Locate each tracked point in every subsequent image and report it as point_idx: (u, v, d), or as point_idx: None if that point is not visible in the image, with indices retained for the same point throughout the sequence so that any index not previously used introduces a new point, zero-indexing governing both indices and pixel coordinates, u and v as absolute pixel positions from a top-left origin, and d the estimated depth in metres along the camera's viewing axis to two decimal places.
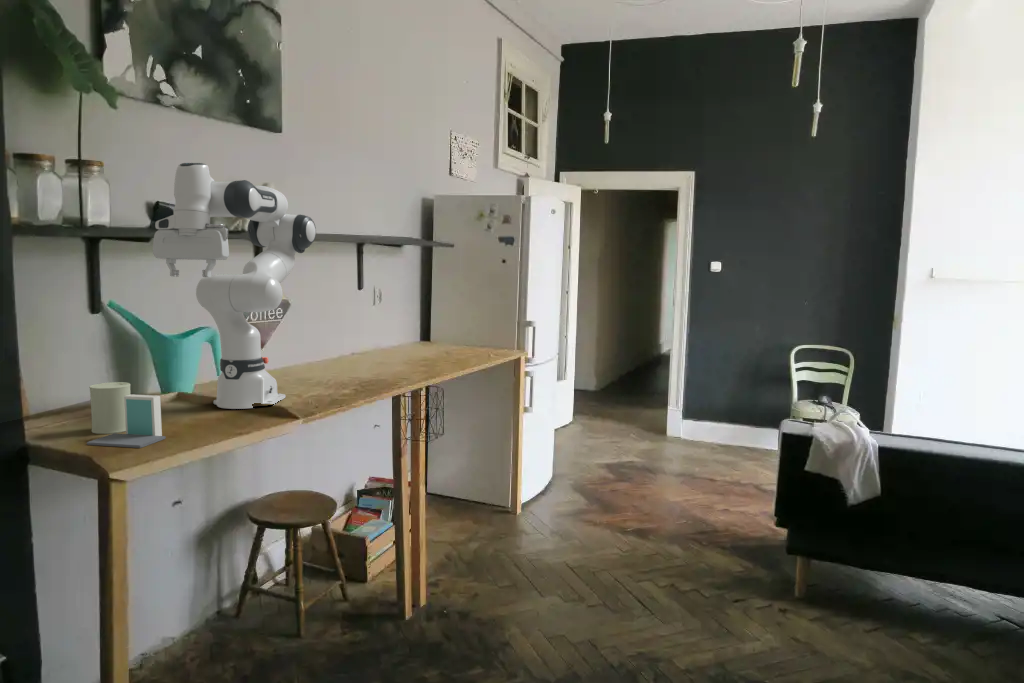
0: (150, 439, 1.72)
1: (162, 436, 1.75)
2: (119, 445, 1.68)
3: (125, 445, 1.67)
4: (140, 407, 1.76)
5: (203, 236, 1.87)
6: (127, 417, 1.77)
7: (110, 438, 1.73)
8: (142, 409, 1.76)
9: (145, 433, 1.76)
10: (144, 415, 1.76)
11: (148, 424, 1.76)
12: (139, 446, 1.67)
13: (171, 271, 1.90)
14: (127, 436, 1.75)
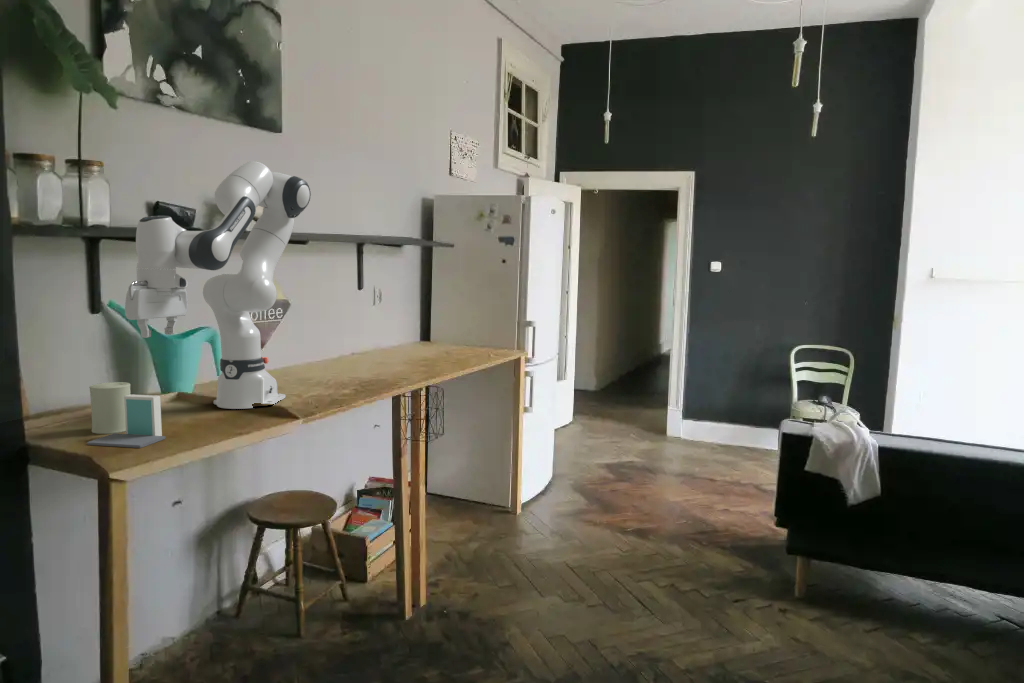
0: (150, 439, 1.72)
1: (162, 436, 1.75)
2: (119, 445, 1.68)
3: (125, 445, 1.67)
4: (140, 407, 1.76)
5: None
6: (127, 417, 1.77)
7: (110, 438, 1.73)
8: (142, 409, 1.76)
9: (145, 433, 1.76)
10: (144, 415, 1.76)
11: (148, 424, 1.76)
12: (139, 446, 1.67)
13: None
14: (127, 436, 1.75)
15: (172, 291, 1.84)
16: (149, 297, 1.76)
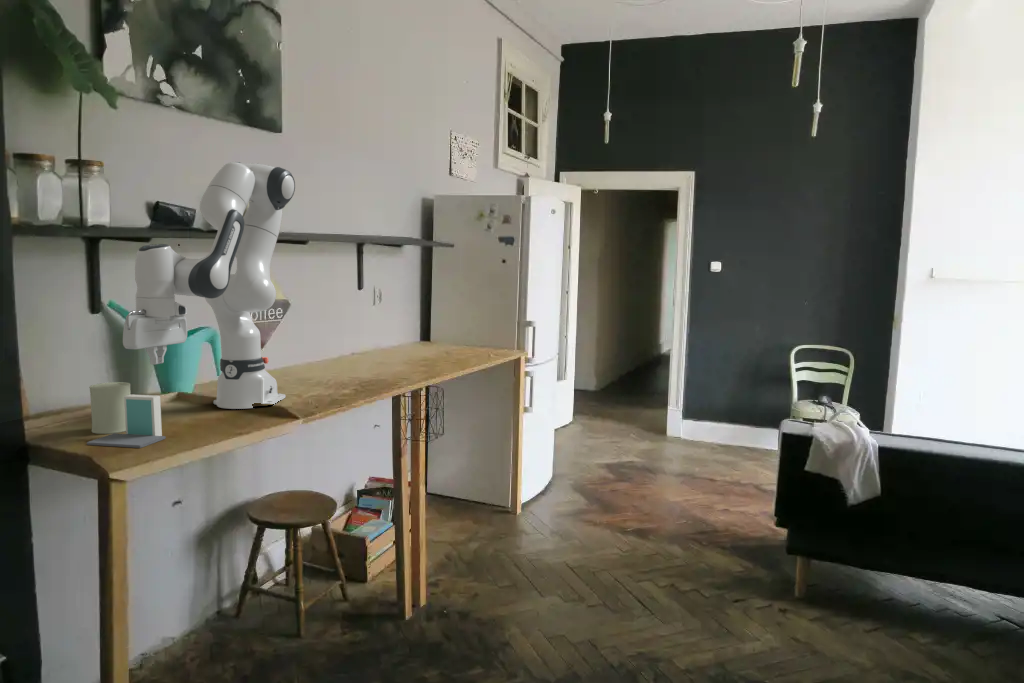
0: (150, 439, 1.72)
1: (162, 436, 1.75)
2: (119, 445, 1.68)
3: (125, 445, 1.67)
4: (139, 407, 1.76)
5: None
6: (127, 417, 1.77)
7: (110, 438, 1.73)
8: (142, 409, 1.76)
9: (145, 433, 1.76)
10: (144, 415, 1.76)
11: (148, 424, 1.76)
12: (139, 446, 1.67)
13: None
14: (127, 436, 1.75)
15: (171, 319, 1.84)
16: (147, 326, 1.76)
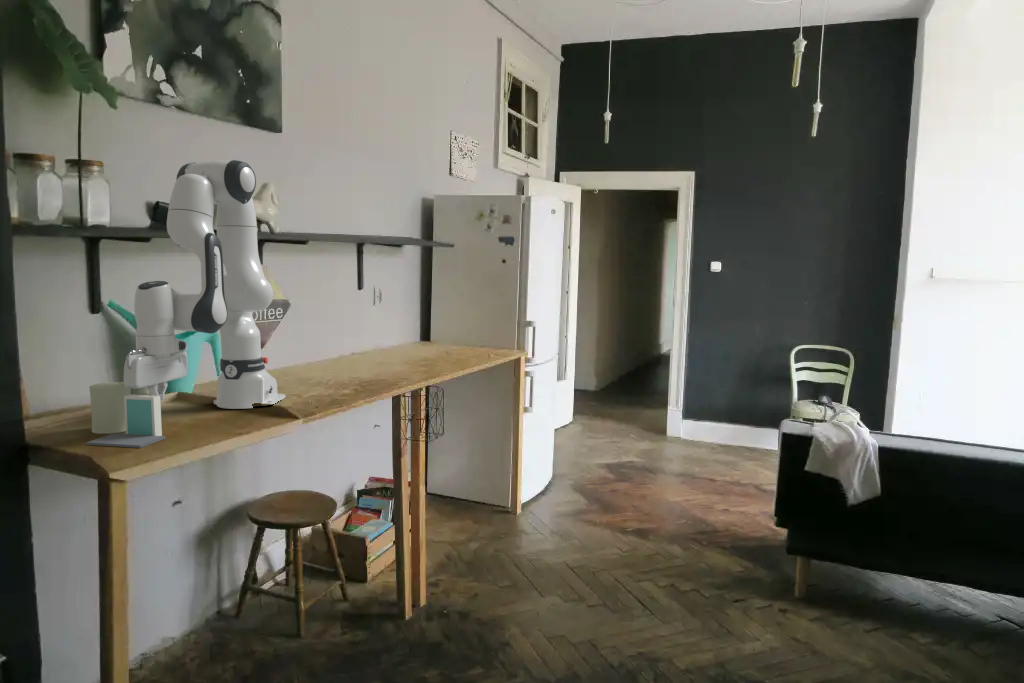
0: (150, 439, 1.72)
1: (162, 436, 1.75)
2: (119, 445, 1.68)
3: (125, 445, 1.67)
4: (140, 407, 1.76)
5: None
6: (127, 417, 1.77)
7: (110, 438, 1.73)
8: (142, 409, 1.76)
9: (145, 433, 1.76)
10: (144, 415, 1.76)
11: (148, 424, 1.76)
12: (139, 446, 1.67)
13: None
14: (127, 436, 1.75)
15: (171, 355, 1.85)
16: (147, 364, 1.77)
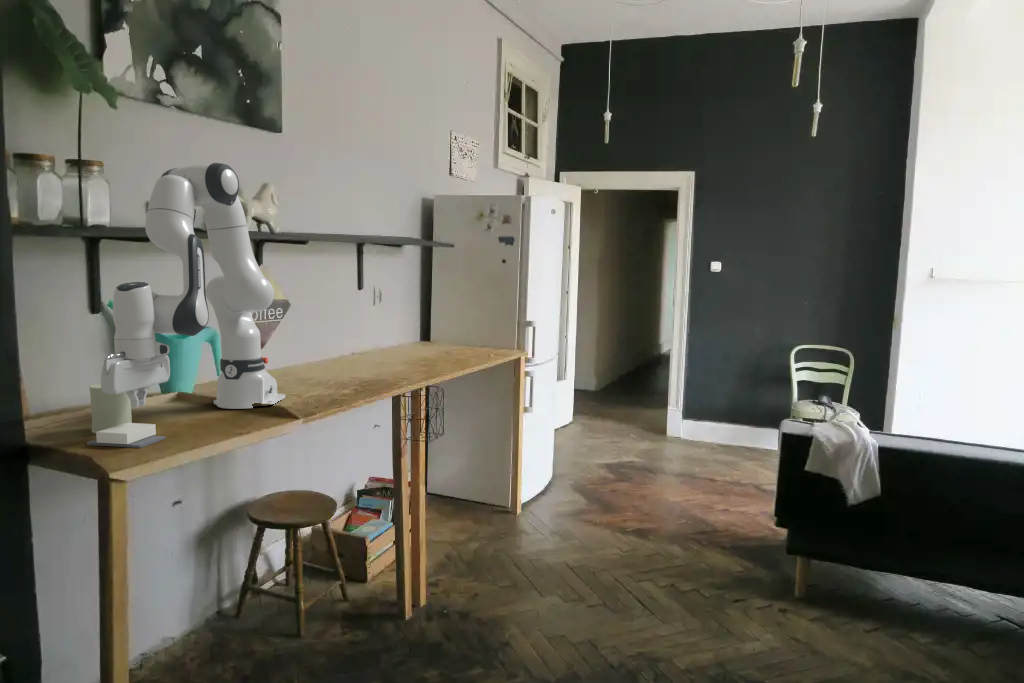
0: (150, 439, 1.72)
1: (162, 436, 1.75)
2: (119, 445, 1.68)
3: (125, 445, 1.67)
4: None
5: None
6: None
7: None
8: None
9: None
10: None
11: None
12: (139, 446, 1.67)
13: None
14: None
15: (152, 359, 1.77)
16: (126, 369, 1.70)
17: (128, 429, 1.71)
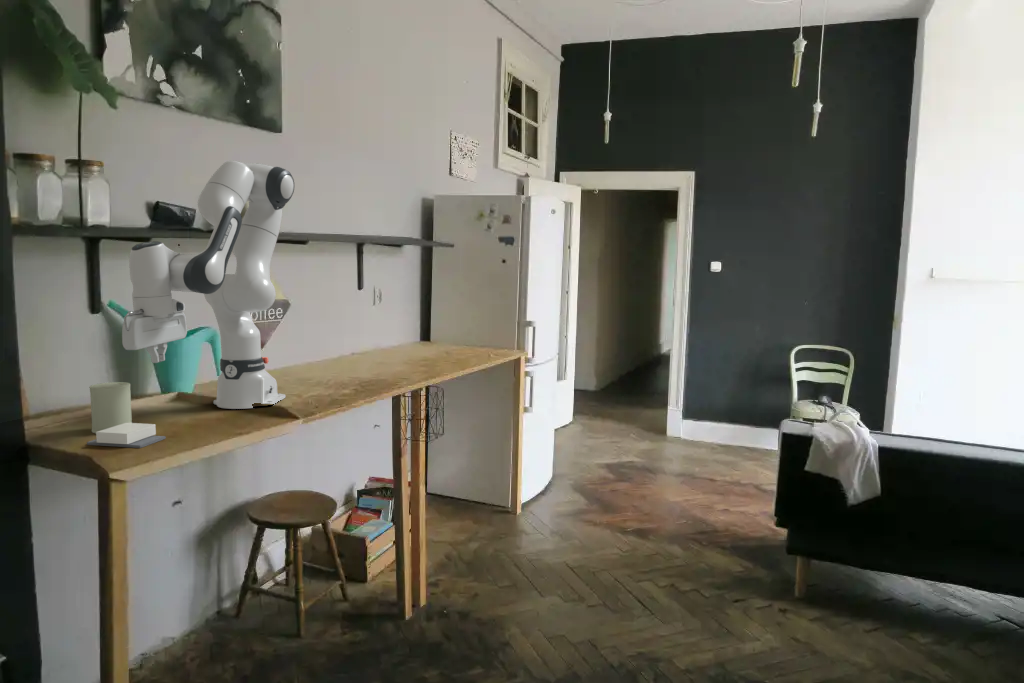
0: (150, 439, 1.72)
1: (162, 436, 1.75)
2: (119, 445, 1.68)
3: (125, 445, 1.67)
4: None
5: None
6: None
7: None
8: None
9: None
10: None
11: None
12: (139, 446, 1.67)
13: None
14: None
15: (169, 316, 1.84)
16: (146, 326, 1.76)
17: (128, 429, 1.71)
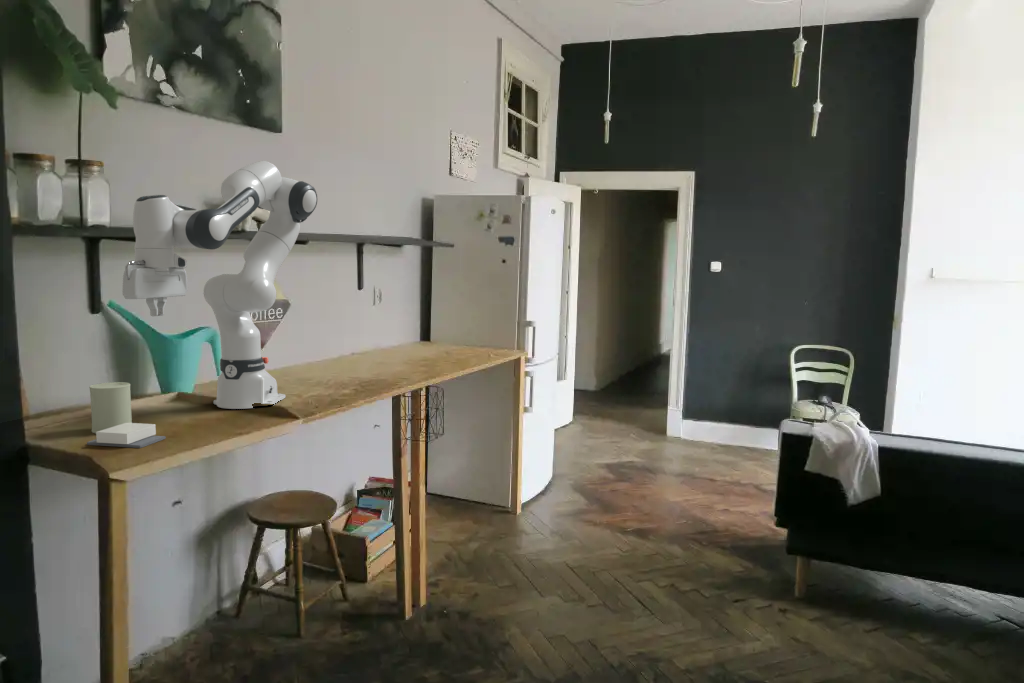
0: (150, 439, 1.72)
1: (162, 436, 1.75)
2: (119, 445, 1.68)
3: (125, 445, 1.67)
4: None
5: None
6: None
7: None
8: None
9: None
10: None
11: None
12: (139, 446, 1.67)
13: None
14: None
15: (171, 271, 1.83)
16: (147, 277, 1.75)
17: (128, 429, 1.71)
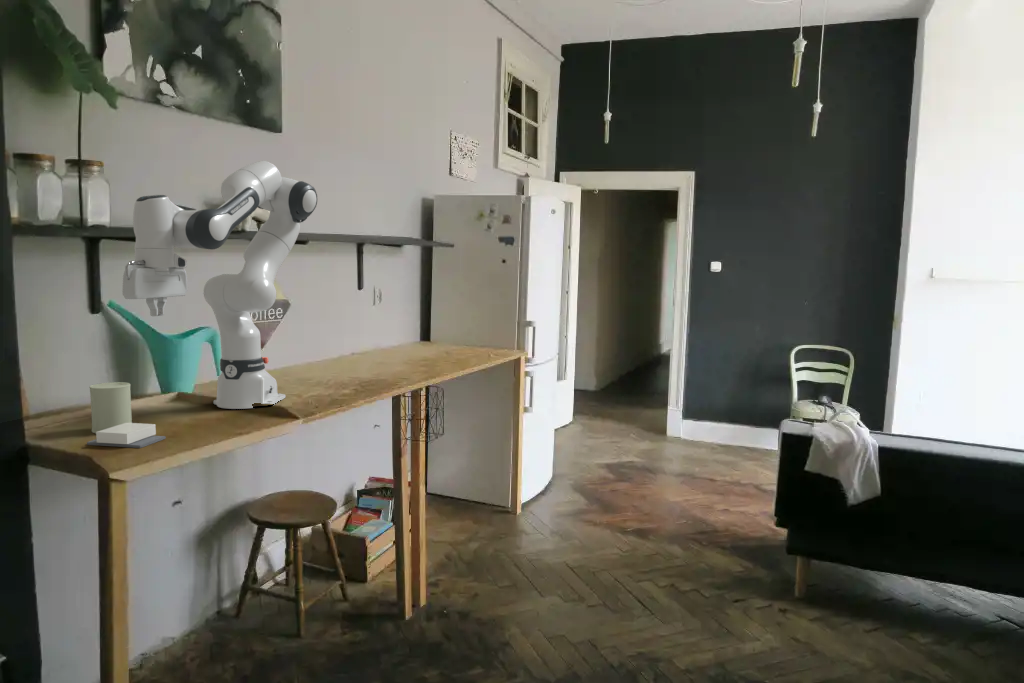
0: (150, 439, 1.72)
1: (162, 436, 1.75)
2: (119, 445, 1.68)
3: (125, 445, 1.67)
4: None
5: None
6: None
7: None
8: None
9: None
10: None
11: None
12: (139, 446, 1.67)
13: None
14: None
15: (171, 271, 1.83)
16: (147, 277, 1.75)
17: (128, 429, 1.71)
